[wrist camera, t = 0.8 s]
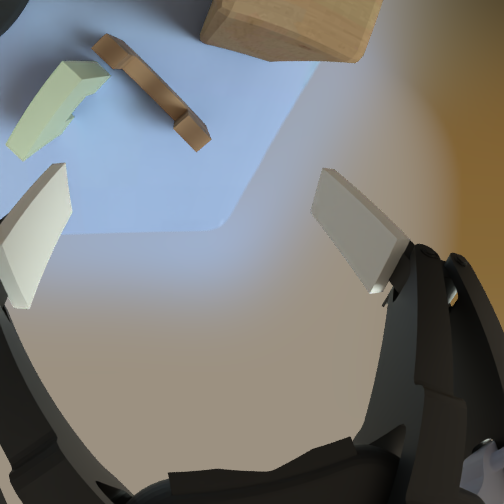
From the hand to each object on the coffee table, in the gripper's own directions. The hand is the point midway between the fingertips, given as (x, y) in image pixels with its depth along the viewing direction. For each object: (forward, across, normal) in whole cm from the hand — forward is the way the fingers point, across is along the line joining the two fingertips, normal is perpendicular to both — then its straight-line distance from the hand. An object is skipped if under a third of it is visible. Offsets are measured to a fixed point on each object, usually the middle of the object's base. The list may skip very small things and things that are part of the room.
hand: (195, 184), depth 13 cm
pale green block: (+24, -14, +2) cm, 28 cm away
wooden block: (+24, +6, +13) cm, 28 cm away
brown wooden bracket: (+24, -4, +3) cm, 24 cm away
